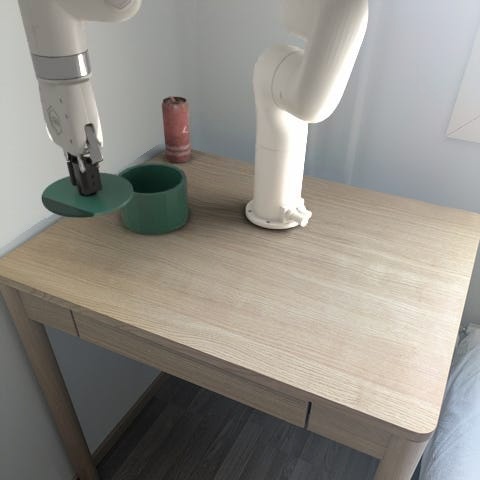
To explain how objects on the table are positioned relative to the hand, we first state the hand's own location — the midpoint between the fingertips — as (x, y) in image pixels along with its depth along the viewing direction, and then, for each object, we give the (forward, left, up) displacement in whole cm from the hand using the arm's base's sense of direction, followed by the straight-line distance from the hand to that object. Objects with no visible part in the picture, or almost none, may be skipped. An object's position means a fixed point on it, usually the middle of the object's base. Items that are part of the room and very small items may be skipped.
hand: (86, 186), depth 80 cm
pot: (+7, -16, -15) cm, 23 cm away
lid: (0, 0, -2) cm, 2 cm away
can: (+27, -36, -15) cm, 47 cm away
